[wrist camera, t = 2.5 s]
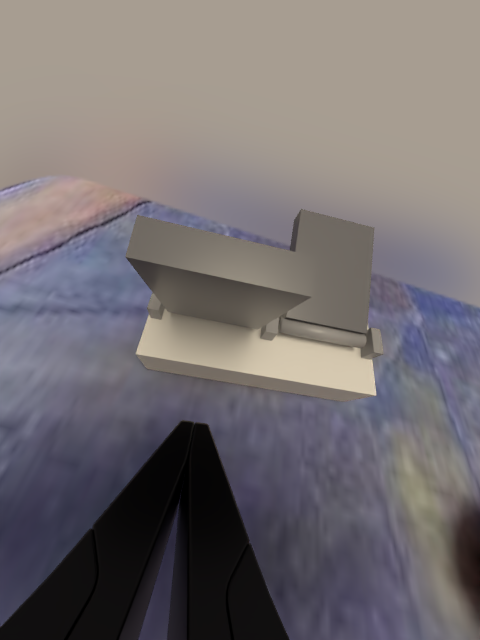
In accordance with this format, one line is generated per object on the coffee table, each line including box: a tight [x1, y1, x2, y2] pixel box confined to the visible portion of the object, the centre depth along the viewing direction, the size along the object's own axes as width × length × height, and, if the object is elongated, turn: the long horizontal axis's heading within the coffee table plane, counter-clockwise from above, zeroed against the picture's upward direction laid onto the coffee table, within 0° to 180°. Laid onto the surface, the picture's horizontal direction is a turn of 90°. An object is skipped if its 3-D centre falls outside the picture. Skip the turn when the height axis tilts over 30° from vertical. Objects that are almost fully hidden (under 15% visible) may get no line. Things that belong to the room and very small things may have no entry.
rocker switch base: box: [136, 293, 383, 402], centre depth 16 cm, size 6×14×5 cm, turn 82°
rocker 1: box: [126, 215, 316, 330], centre depth 10 cm, size 1×5×8 cm, turn 82°
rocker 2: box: [278, 209, 374, 348], centre depth 15 cm, size 1×5×8 cm
